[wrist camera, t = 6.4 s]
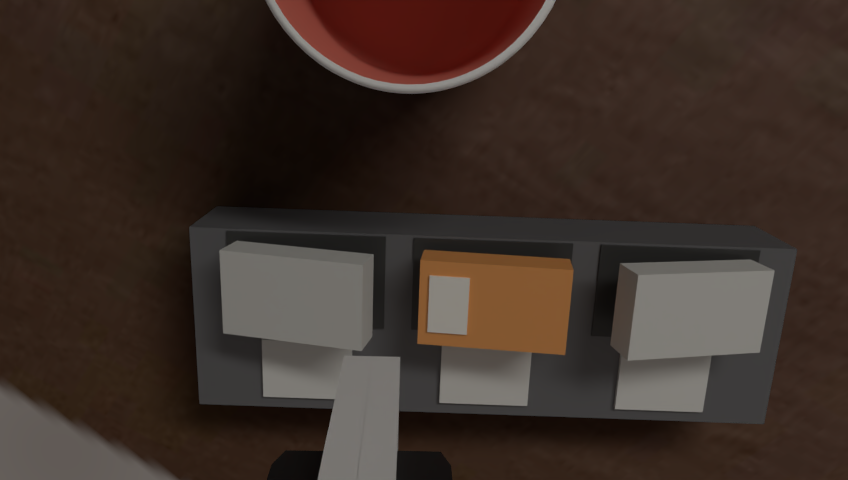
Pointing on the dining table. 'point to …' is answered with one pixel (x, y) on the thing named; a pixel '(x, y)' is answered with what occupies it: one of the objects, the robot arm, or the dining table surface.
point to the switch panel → (485, 368)
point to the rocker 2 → (494, 301)
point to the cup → (410, 38)
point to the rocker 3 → (690, 308)
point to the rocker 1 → (297, 294)
